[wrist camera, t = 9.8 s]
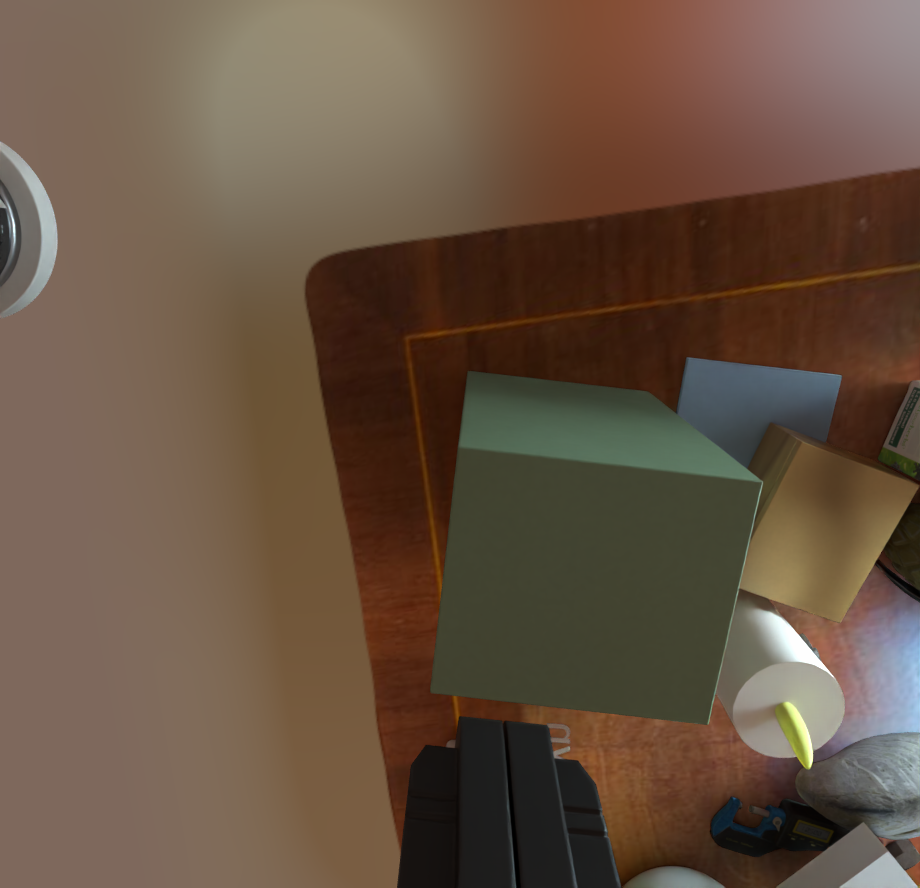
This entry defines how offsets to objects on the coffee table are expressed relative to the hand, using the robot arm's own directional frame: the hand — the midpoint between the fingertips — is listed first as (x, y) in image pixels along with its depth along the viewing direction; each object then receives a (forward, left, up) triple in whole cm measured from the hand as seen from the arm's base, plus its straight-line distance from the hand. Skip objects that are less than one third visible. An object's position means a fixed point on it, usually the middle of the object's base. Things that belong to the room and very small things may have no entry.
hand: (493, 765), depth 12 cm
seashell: (+32, -25, -37) cm, 55 cm away
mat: (+18, -1, -37) cm, 41 cm away
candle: (+19, -15, -37) cm, 44 cm away
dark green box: (+5, -4, -37) cm, 37 cm away
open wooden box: (+22, -6, -32) cm, 39 cm away
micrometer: (+27, -34, -36) cm, 56 cm away
